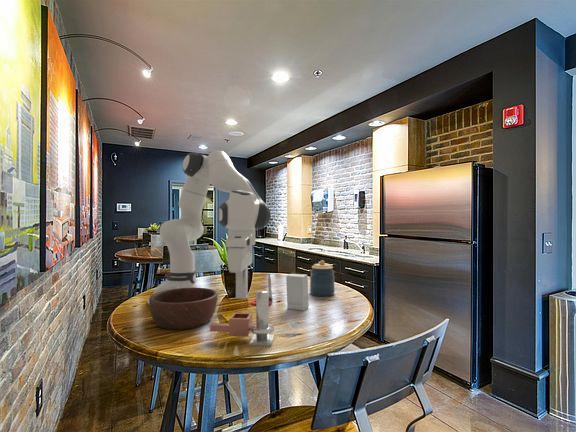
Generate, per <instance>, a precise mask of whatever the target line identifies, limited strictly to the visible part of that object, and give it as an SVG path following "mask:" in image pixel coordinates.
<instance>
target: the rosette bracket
mask: <svg viewBox="0 0 576 432" xmlns="http://www.w3.org/2000/svg"><path fill="white" fill-rule="evenodd" d="M255 295H256V296H255V299H256V302H255V303H256V305H255V307H256V310H255V313H256V314H255V318H256V319H255V324H253V313H252V312H233V313H232V315H231V316H230V317H229V319H228V323H223V322H222V323H220V322H219V323H218V322H216V323H215V322H212V323H211V324H210V325H209V331H210V332H216V333H218V332H219V333H222V332H223V333H229V334H228V335H229V337H246V338H249V336H250V335H251V334H253V335H252V336H251V338H250V341H249V346H261V347H262V346H263V347H264V346H265V347H267V346H268V347H272V346H273V342H274V339H275V334H272V333H274V331H275V326H274V325H273V324H271V323H269V321H270V319H269V317H270V316H269V315H270V313H269V311H270V309H269V307H270V305H269V290H262V289H261V290H257V291H256V294H255Z"/></svg>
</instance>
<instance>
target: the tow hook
mask: <svg viewBox="0 0 576 432" xmlns="http://www.w3.org/2000/svg"><path fill="white" fill-rule="evenodd" d="M271 279H272V278H271V273H268V278H267V286H268V288H267V289H268V290H267V291H269V306H271V305H272V303H273V301H274V300H273V292H272V280H271ZM250 305H252V306H256V298H255V299H253V300H251V301H250Z"/></svg>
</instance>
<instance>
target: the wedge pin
mask: <svg viewBox="0 0 576 432" xmlns="http://www.w3.org/2000/svg"><path fill="white" fill-rule="evenodd" d="M248 270H249V266H248V267H246V268H245V269H244V270H243V283H242V284H238V283H237V277H236V276H235V299H238V300H239V299H241V300H242V299H244V300H245V299H247V298H248V290H249V288H248V287H249V286H248V284H249V283H248V280H249V279H248V278H249V276H248V273H249V271H248Z"/></svg>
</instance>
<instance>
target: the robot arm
mask: <svg viewBox="0 0 576 432" xmlns="http://www.w3.org/2000/svg"><path fill="white" fill-rule="evenodd" d="M182 171H183V173H184V174H185V175H187V176H186V179H185V182H184V184H183V187H182V191H181V194H180V197H179V199H178V207H179V208H180V218H178V219H176V218H175V219H174V218H173V219H170V220H167V221H165V222H162V223H161V225H160V227H159V235H160V238H161V239H162V240H163V241H164V243H165V244H166V247H167V249H168V254H169V260H170V261H169V262H170V263H169V264H170V265H169V266H170V269H169V270H170V271H169V272H167V273H164V277H165V278H166V279H165V280H164V281H162V282H161V284H159V285H157V286H156V287H155V288H154V291H153V293H152V295H153V294H155V293H158V292H161V291H165V290H170V289H177V288H197V287H196V281H197V274H196V269H195V268H196V266H195V265H196V264H195V263H196V260H195V259H196V256H195V252H193V251H192V249H191V246H190V242H194V241H195V240H198V239H199V238H201V237H203V234H204V229H205V228H204V225H203V223H202V213H203V208H204V205H205V201H206V197H207V194H208V191H209V186H211V185H212V187H214V188H215V189H216V190H218V191H220V192H225V193H228V194H229V197H228V199H227V200H226V201H224V202H223V203H221V204H220V206H218V208H217V222H218V223H219V225H221V226H222V228H225V229H228V230H227V239H226V240H225V248H227V251H226V253H227V256H226V257H227V267H228V271H229V273H233V274H235V278H236V277H237V283H238V284H242V283H243V270H244V269H245V268H246V267H248V268H249V266H250V265H252V264H253V246H255V245H256V230H263V229H264V228H265V227H266V226H267V225H268V224H269V222H270V221H271V210H270V207H269V206H268V205H267V203H266V202H264V200H262V198H261V196H260V195H259V194H258V192H257V191H256V189H255V187H254V186H253V185H252V183H251V182H250V180H249V179H248V178H246V177H245V176H244V175H242V174H241V173H240V172H238V171H237V169H236V168H235V166H234V164H233V161H232V160H231V158H230V156H229V155H228V154H227V153H226V152H224V151H223V150H213V151H212V152H210V153H209V154H208V155H205V154H201V153H198V152H190V153H187V154H186V155H185V157H184V160H183V163H182ZM147 303H148V304H147V305H149V299H148V300H147Z"/></svg>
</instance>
